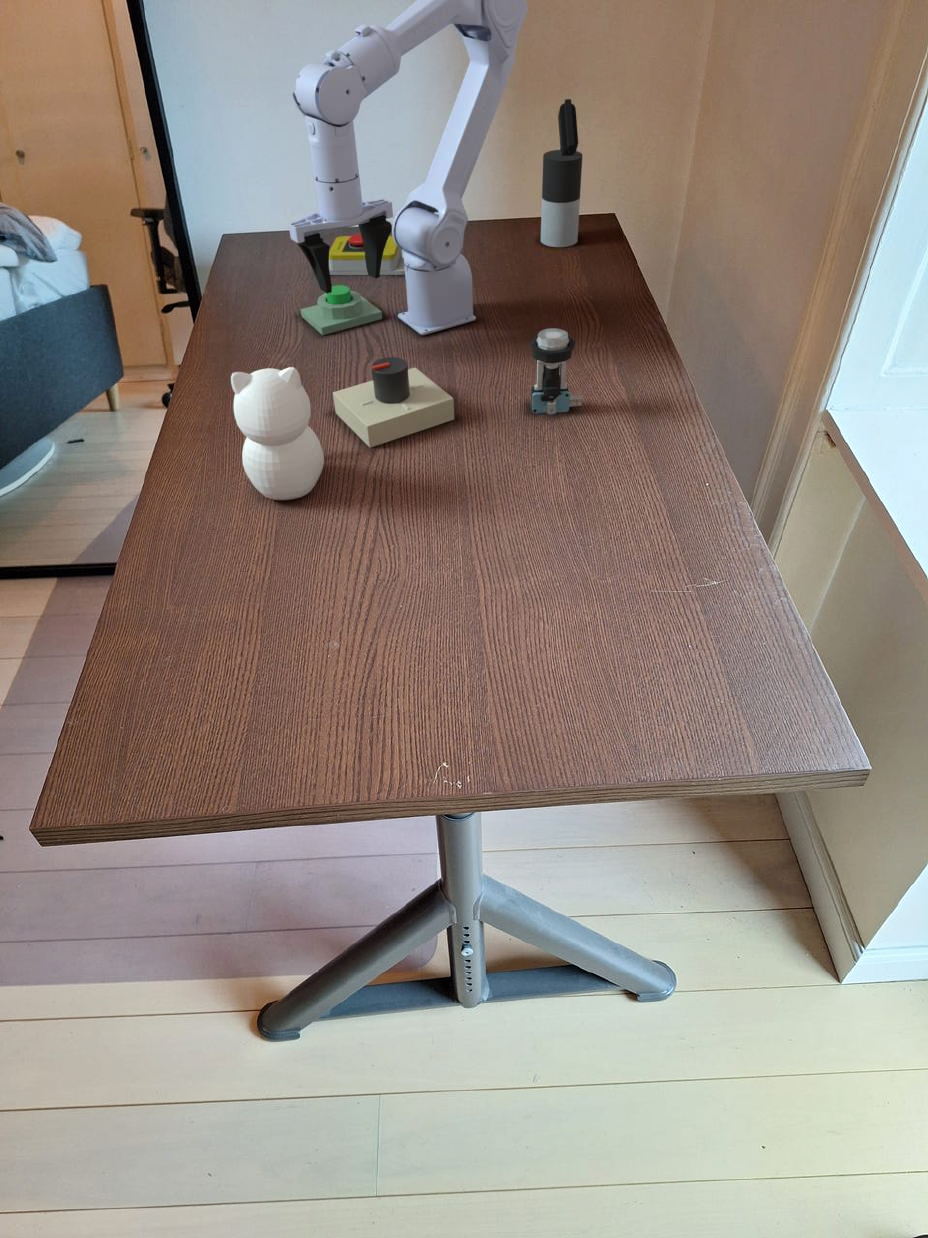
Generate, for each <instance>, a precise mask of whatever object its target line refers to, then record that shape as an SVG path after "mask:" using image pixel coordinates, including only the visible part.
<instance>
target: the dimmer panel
mask: <svg viewBox="0 0 928 1238" xmlns="http://www.w3.org/2000/svg"><path fill="white" fill-rule="evenodd" d="M408 377H409V389H410V395H409V397H408V398H407V399H406V400H404V401H402V402H398V403H383V402H380V401H378V400H377V399H376V398H375V392H374V384H373V379H372V380H369V381H366V382H362V383H359V384H356V385H352V386H349V387H346V388H343V389H339V390H337V391H333V392H332V397H333V398H332V399H333V404H334V411H335V415H337V416H338V417H339V418H340V419H341V420H342V421H343V422H344V423H345V424H346V425H347V426H348V427H349V428H350V429H351V430H352V431H353V432H354V434H356V436H358V438H360V440H361V441H363V442H364V443H365V445H367V446H368V448H370V449H372V448H374V447H376V446H379V445H382V444H385V443H389V442H392V441H394V440H397V439H400V438H403V437H407V436H409V435H412V434H416V433H419V432H421V431H424V430H428V429H430V428H433V427H436V426H439V425H442V424H445V423H448V422H452V421H454V420H455V404H454V403H455V401H454V398H453V396H451V395H450V394H449V393H448V392H446V391H445V390H444V389H443V388H441V387H440V386H439V385H438V384H437V383H435V382H434V381H433V380H431V379H430V378H429V377H428V376H427V375H425V374H424V373H423V372H422V371H421V370H419V369H418V368H417V367H411V368H408Z"/></svg>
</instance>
